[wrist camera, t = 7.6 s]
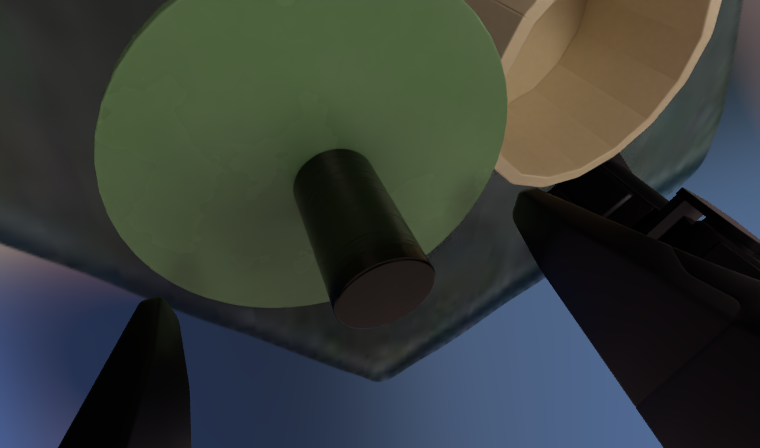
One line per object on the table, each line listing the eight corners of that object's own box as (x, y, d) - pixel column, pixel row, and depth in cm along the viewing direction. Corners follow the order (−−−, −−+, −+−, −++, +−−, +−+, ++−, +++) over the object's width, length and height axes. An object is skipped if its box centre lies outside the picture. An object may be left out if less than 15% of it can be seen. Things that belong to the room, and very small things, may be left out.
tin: (627, -118, 18) (785, -98, 13) (558, 97, 25) (644, 158, 21) (414, -102, 15) (518, -69, 11) (406, 132, 23) (466, 210, 18)
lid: (526, -85, 10) (732, -31, 6) (464, 237, 18) (537, 339, 14) (-34, -32, 7) (-233, 119, 3) (194, 320, 15) (203, 471, 12)
